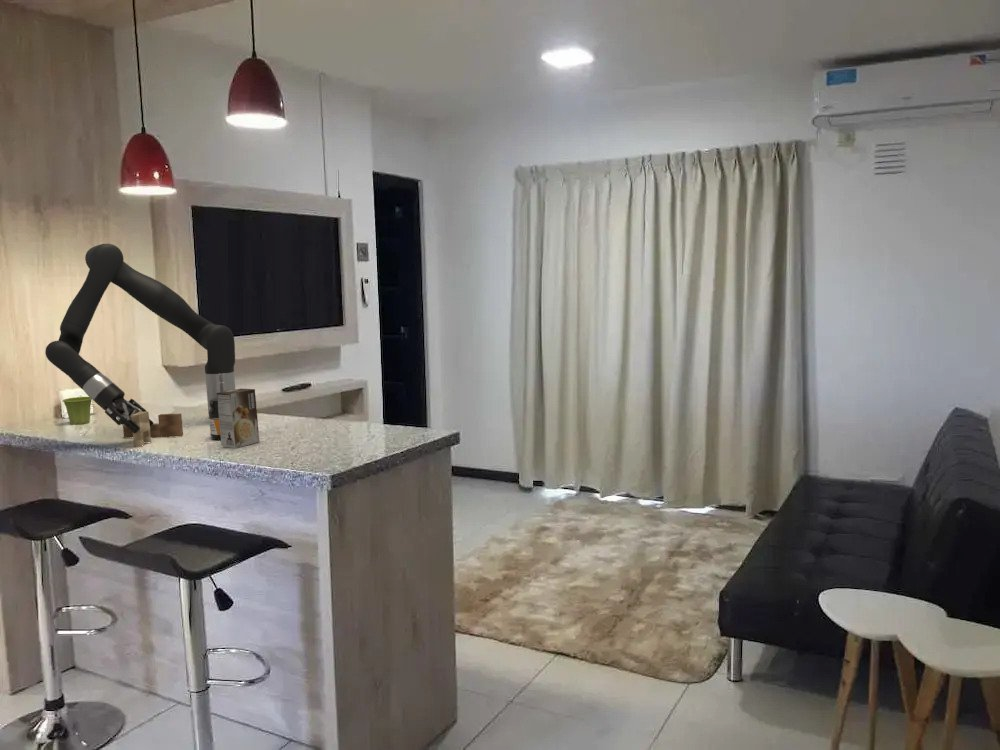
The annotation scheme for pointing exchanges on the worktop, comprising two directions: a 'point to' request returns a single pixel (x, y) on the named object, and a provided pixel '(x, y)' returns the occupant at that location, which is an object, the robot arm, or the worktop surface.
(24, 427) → the worktop surface
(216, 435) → the supplement container
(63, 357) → the robot arm
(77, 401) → the plant pot
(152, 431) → the walnut board
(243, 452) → the worktop surface
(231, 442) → the coffee box
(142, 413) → the wooden arch block
